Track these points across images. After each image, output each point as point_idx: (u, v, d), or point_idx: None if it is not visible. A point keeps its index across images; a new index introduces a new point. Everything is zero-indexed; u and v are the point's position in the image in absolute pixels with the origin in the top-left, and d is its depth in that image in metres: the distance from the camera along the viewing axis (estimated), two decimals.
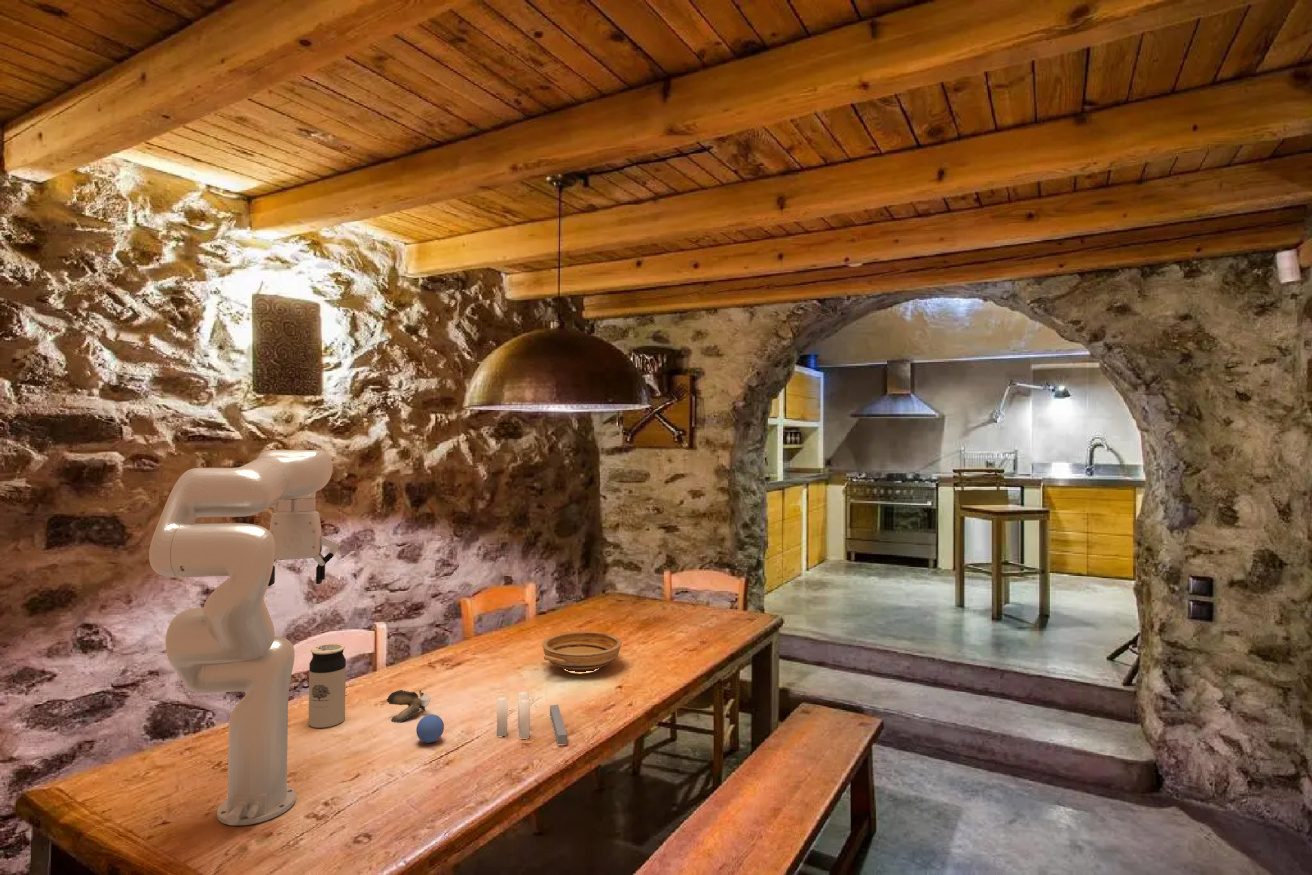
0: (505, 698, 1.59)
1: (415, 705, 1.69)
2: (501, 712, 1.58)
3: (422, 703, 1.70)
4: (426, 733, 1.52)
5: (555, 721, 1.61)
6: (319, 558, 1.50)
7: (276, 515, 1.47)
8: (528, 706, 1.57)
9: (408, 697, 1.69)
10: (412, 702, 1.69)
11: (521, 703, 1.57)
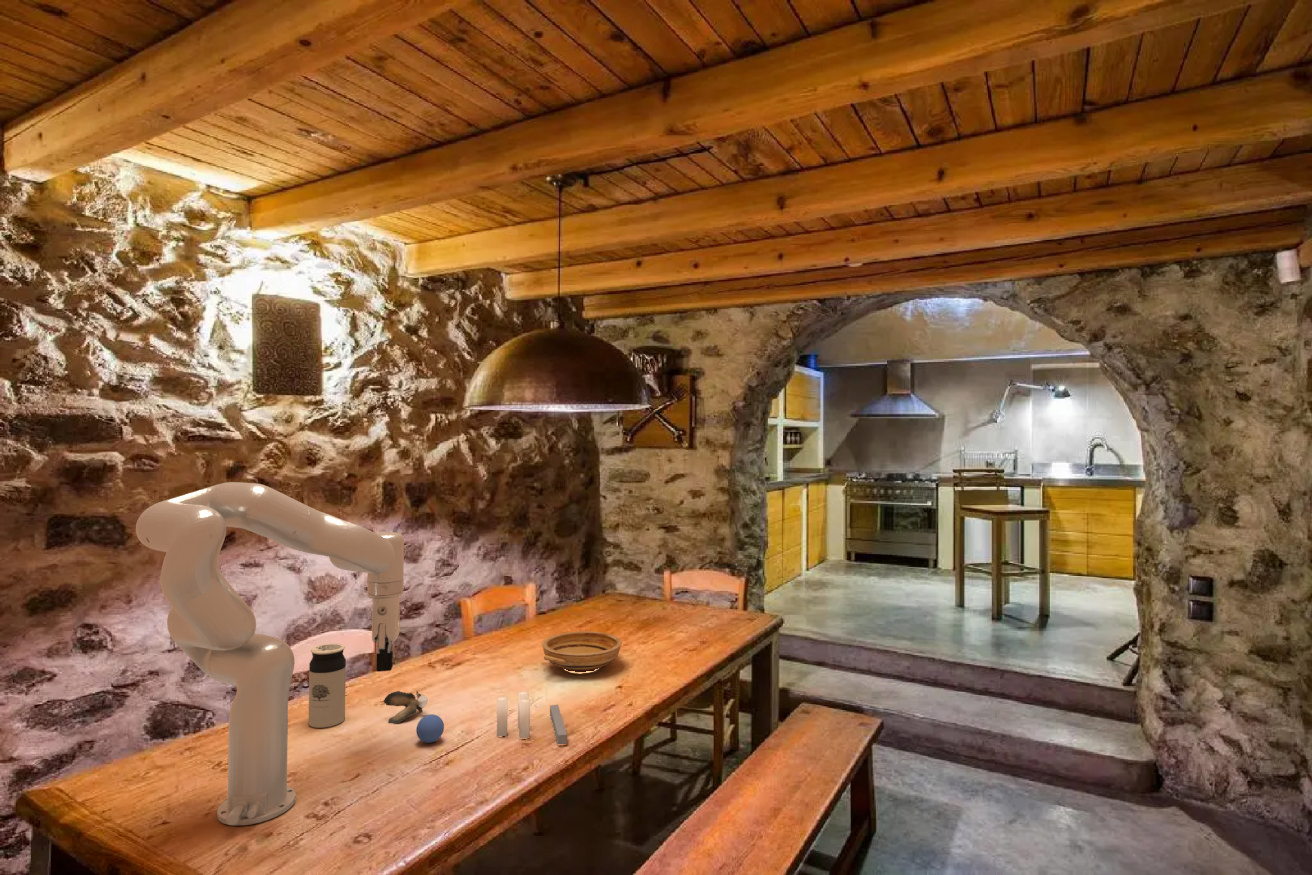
0: (505, 698, 1.59)
1: (412, 706, 1.68)
2: (501, 712, 1.58)
3: (419, 704, 1.69)
4: (426, 733, 1.52)
5: (555, 721, 1.61)
6: None
7: (394, 598, 1.50)
8: (528, 706, 1.57)
9: (405, 698, 1.68)
10: (409, 703, 1.69)
11: (521, 703, 1.57)
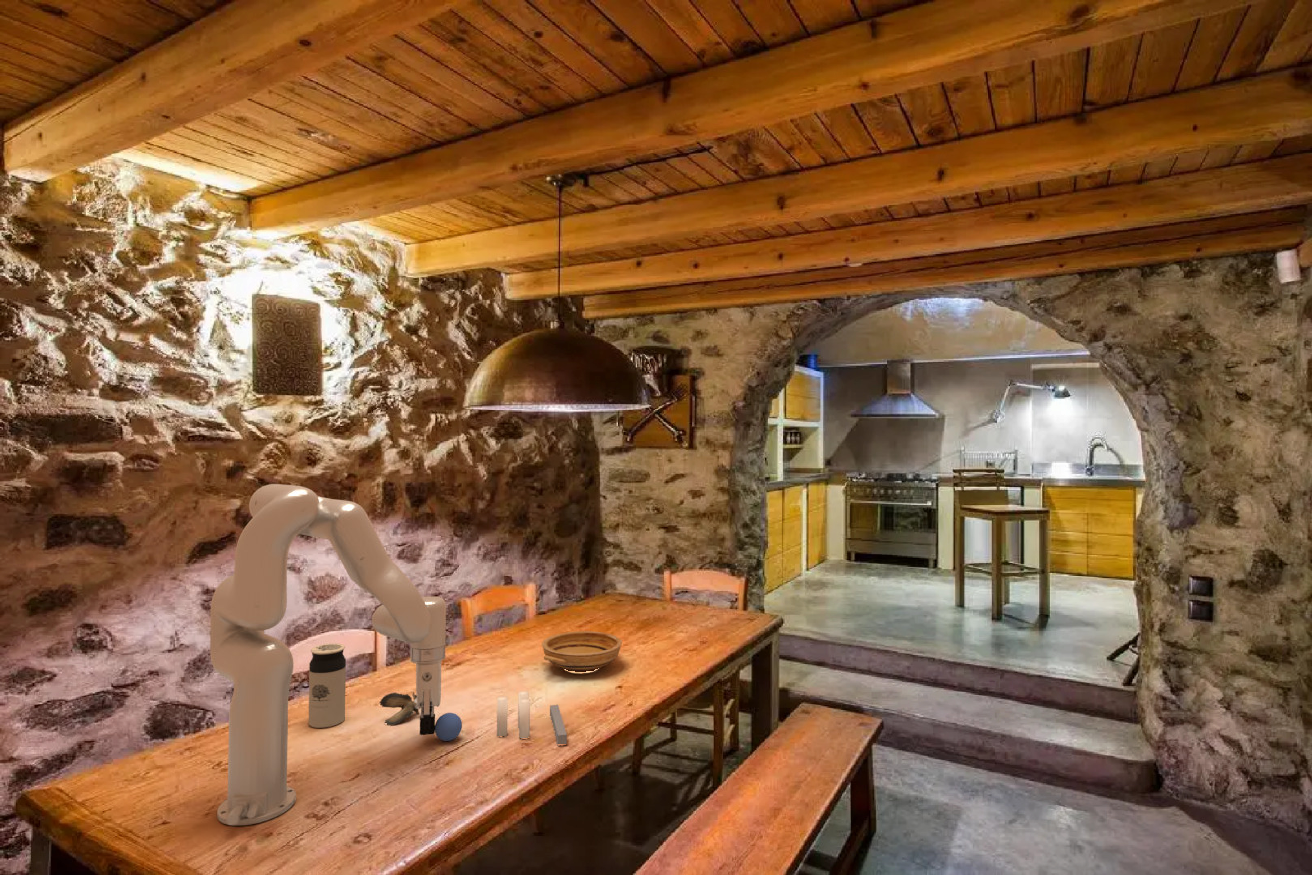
0: (505, 698, 1.59)
1: (409, 708, 1.67)
2: (501, 712, 1.58)
3: (416, 706, 1.68)
4: (446, 729, 1.53)
5: (555, 721, 1.61)
6: None
7: (438, 663, 1.52)
8: (528, 706, 1.57)
9: (401, 700, 1.67)
10: (405, 705, 1.68)
11: (521, 703, 1.57)
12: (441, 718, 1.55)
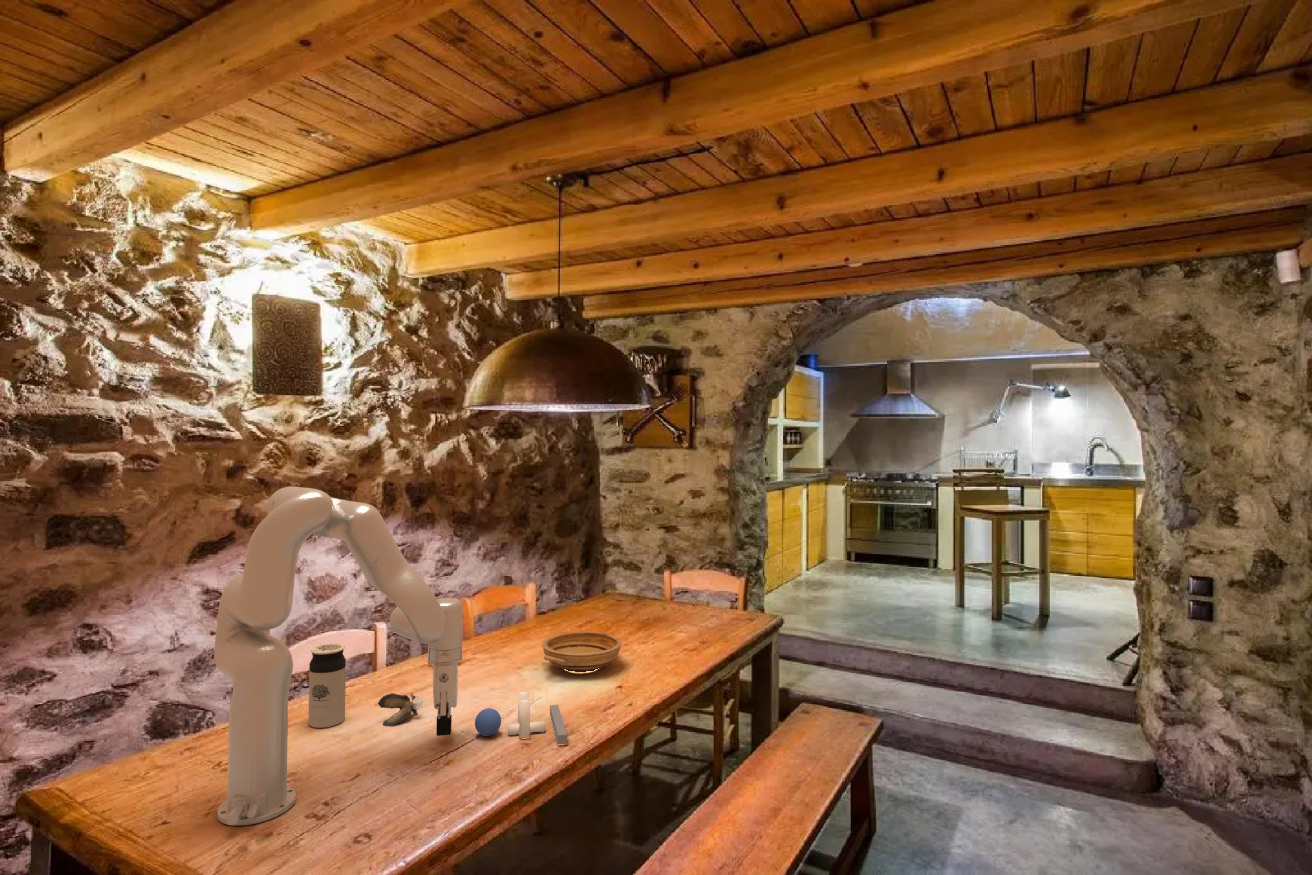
0: None
1: (407, 708, 1.67)
2: (532, 728, 1.59)
3: (414, 706, 1.68)
4: (490, 727, 1.56)
5: (555, 721, 1.61)
6: None
7: (455, 665, 1.53)
8: (528, 706, 1.57)
9: (400, 700, 1.67)
10: (404, 705, 1.67)
11: (521, 703, 1.57)
12: (497, 730, 1.58)
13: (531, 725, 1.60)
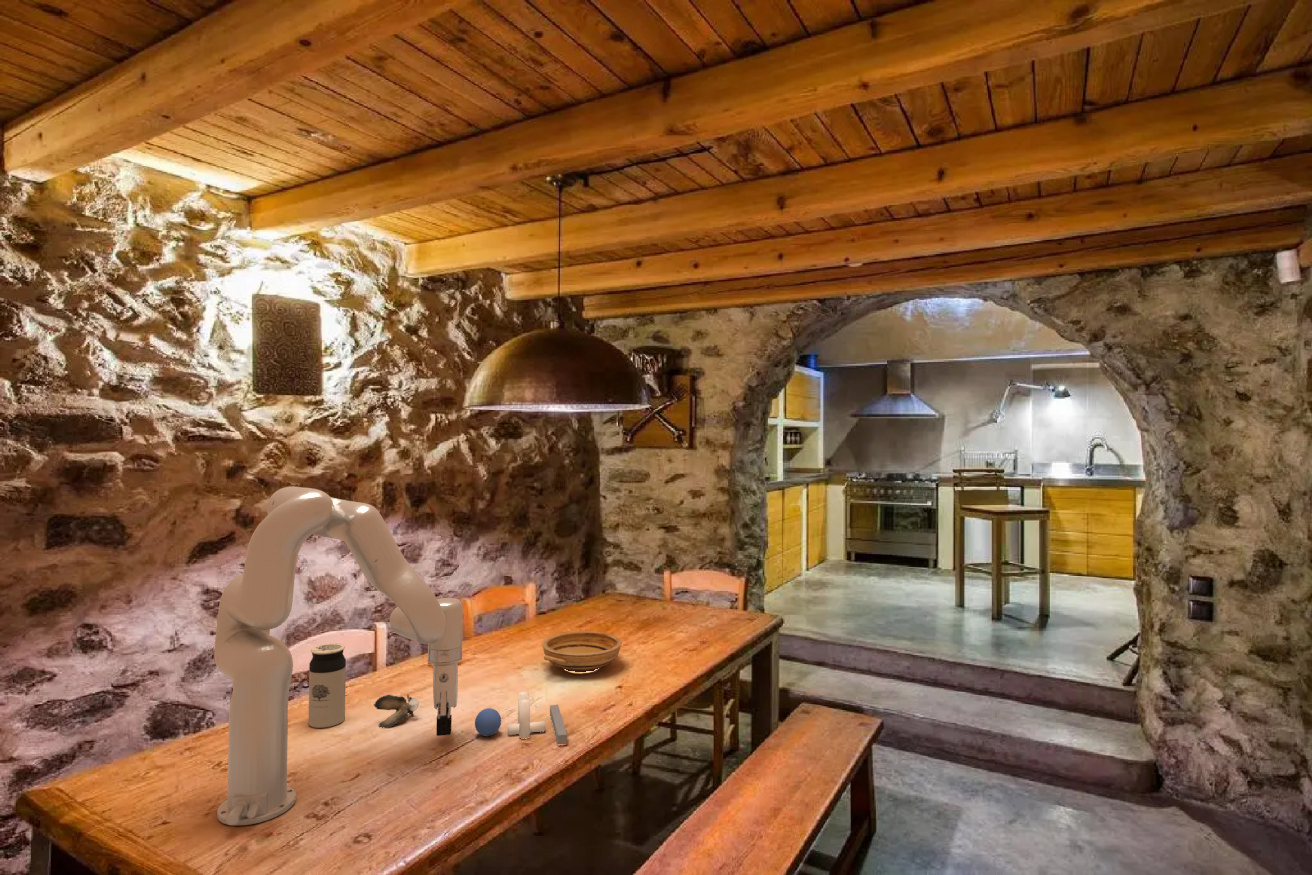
0: None
1: (403, 710, 1.66)
2: (532, 728, 1.59)
3: (410, 708, 1.67)
4: (490, 727, 1.56)
5: (555, 721, 1.61)
6: None
7: (455, 665, 1.53)
8: (528, 706, 1.57)
9: (396, 702, 1.66)
10: (400, 707, 1.66)
11: (521, 703, 1.57)
12: (497, 730, 1.58)
13: (531, 725, 1.60)
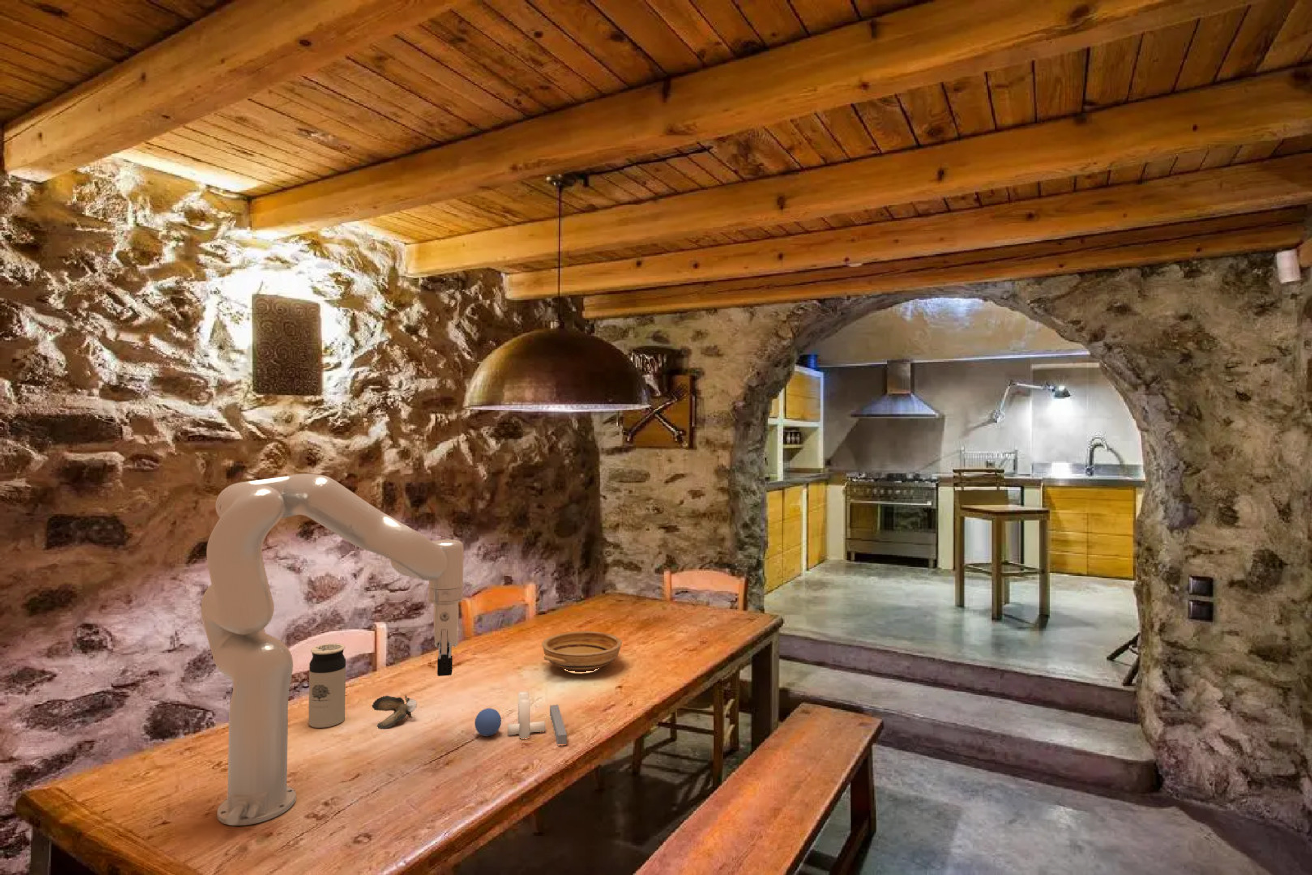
0: None
1: (401, 711, 1.65)
2: (532, 728, 1.59)
3: (408, 709, 1.66)
4: (490, 727, 1.56)
5: (555, 721, 1.61)
6: (451, 647, 1.58)
7: (456, 604, 1.53)
8: (528, 706, 1.57)
9: (394, 703, 1.65)
10: (398, 708, 1.66)
11: (521, 703, 1.57)
12: (497, 730, 1.58)
13: (531, 725, 1.60)
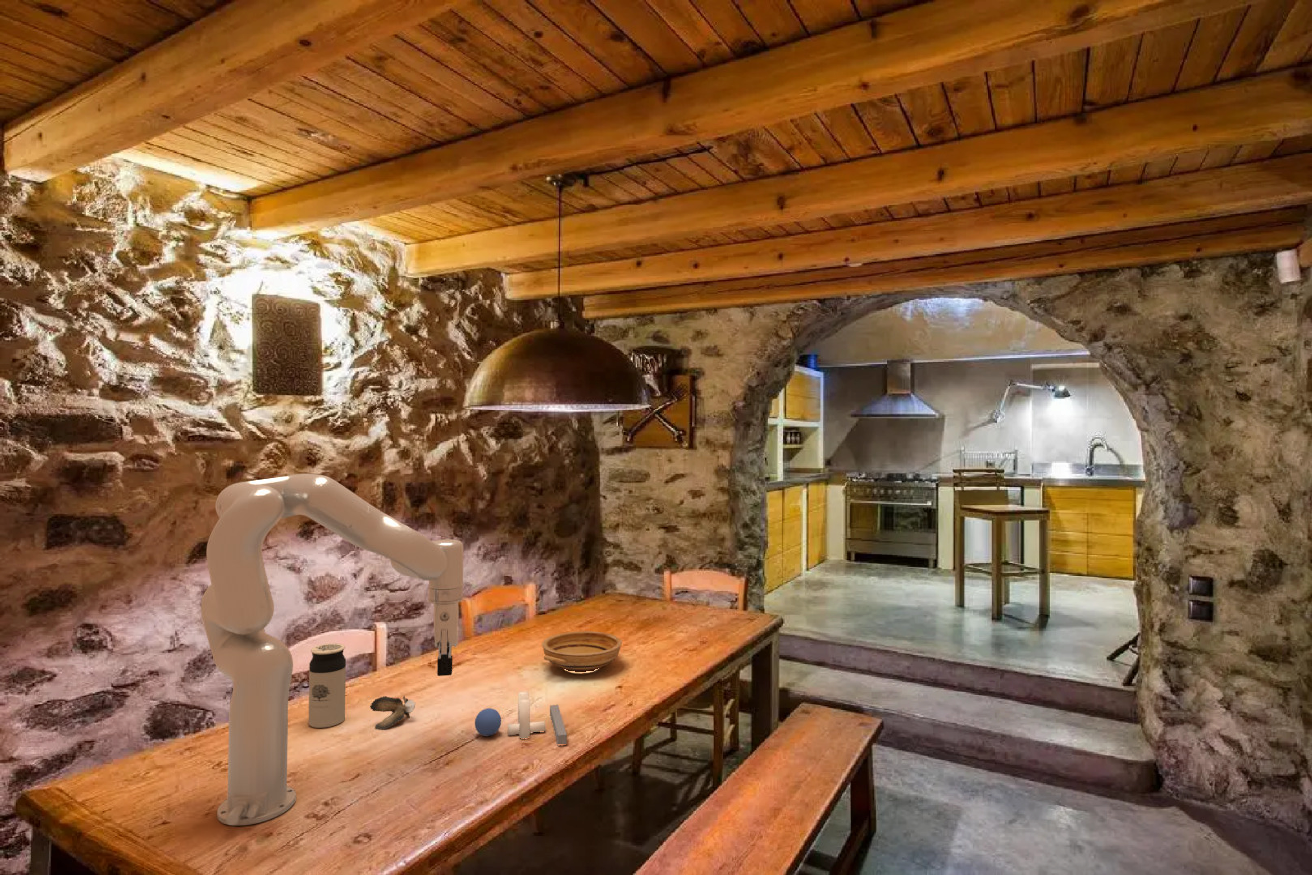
0: None
1: (400, 711, 1.65)
2: (532, 728, 1.59)
3: (407, 709, 1.66)
4: (490, 727, 1.56)
5: (555, 721, 1.61)
6: (451, 647, 1.58)
7: (456, 604, 1.53)
8: (528, 706, 1.57)
9: (392, 703, 1.65)
10: (396, 708, 1.65)
11: (521, 703, 1.57)
12: (497, 730, 1.58)
13: (531, 725, 1.60)
